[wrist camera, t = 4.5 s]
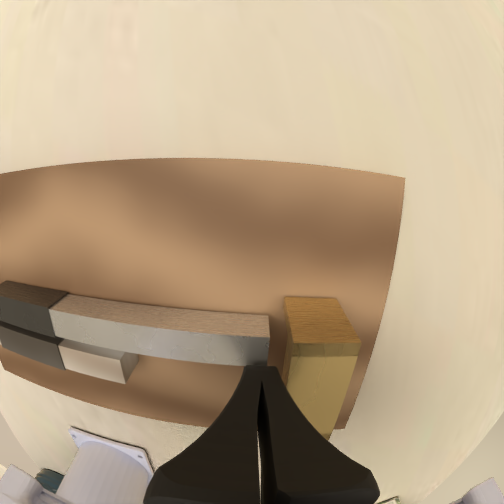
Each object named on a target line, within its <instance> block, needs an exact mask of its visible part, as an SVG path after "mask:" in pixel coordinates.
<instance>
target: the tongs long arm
mask: <svg viewBox="0 0 504 504" xmlns="http://www.w3.org/2000/svg"><path fill="white" fill-rule="evenodd" d="M0 321H3V322H6V323H9V324H12V325H15V326H18V327H21V328H24V329H27V330H30V331H33V332H36V333H40V334H43V335H47V336H50V337H54V338H56V337H57V336H58V337H61V338H65V339H69V340H73V341H77V342H81V343H86V344H90V345H94V346H99V347H104V348H109V349H114V350H119V351H124V352H130V353H135V354H141V355H147V356H154V357H160V358H167V359H175V360H183V361H191V362H200V363H210V364H222V365H235V366H246V365H256V366H267V360H268V351H269V341H270V332H269V318H268V315H257V314H240V313H226V312H212V311H200V310H189V309H178V308H168V307H159V306H150V305H142V304H133V303H126V302H118V301H111V300H104V299H97V298H90V297H84V296H77V295H71V294H69V293H68V292H65V291H59V290H53V289H48V288H42V287H37V286H31V285H26V284H21V283H16V282H11V281H7V280H6V281H4V282H2V283H1V284H0Z"/></svg>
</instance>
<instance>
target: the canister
mask: <svg viewBox="0 0 504 504" xmlns="http://www.w3.org/2000/svg"><path fill="white" fill-rule="evenodd" d="M63 478H64V476H62V475H60V474H58V473H56V472H53V471H51V470H47V469H42V470H41V472H40V473H38V474H37V476H36V477H35V479H36V480H37V481H38V482H39V483H40V484H41V485H42V487H43V488H44V489H46V490H48V491H50V492H52V493H54V494H56V492H57V490H58V488H59V486H60V484H61V482H62V480H63Z"/></svg>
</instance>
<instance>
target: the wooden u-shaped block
mask: <svg viewBox="0 0 504 504" xmlns="http://www.w3.org/2000/svg"><path fill="white" fill-rule="evenodd" d="M283 310H284V316H285V322H286V327H287V333H288V337H287V345H286V352H285V359H284V366H283V372H282V380H283V382H284V384H285V386H286V388H287V390H288V392H289V394H290V395H291V397H292V398H293V400H294V402H295V403H296V405H297V406H298V408H299V409H300V410H301V412H302V413H303V415H304V416H305V417H306V418H307V420H308V421H309V422H310V423H311V424H312V425H313V427H314V428H315V429H316V430H317V431H318V432H319V433H320V434H321V435H322V436H323V437H324V438H325V439H326V440H329V438H330V436H331V433H332V431H333V428H334V426H335V423H336V421H337V418H338V415H339V412H340V410H341V407H342V404H343V401H344V398H345V395H346V392H347V389H348V386H349V383H350V380H351V377H352V374H353V371H354V367H355V364H356V361H357V357H358V354H359V350H360V347H361V343H362V342H361V341H360V339H359V337H358V335H357V334H356V332H355V330H354V328H353V327H352V325H351V323H350V321H349V320H348V318H347V316H346V314H345V313H344V311H343V309H342V308H341V306H340V304H339V302H338V301H337V299H336V298H305V297H284V304H283Z"/></svg>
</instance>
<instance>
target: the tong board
mask: <svg viewBox="0 0 504 504" xmlns="http://www.w3.org/2000/svg"><path fill="white" fill-rule="evenodd" d="M404 186H405V178H403V177H397V176H392V175H386V174H380V173H373V172H367V171H360V170H353V169H345V168H337V167H329V166H320V165H311V164H300V163H289V162H276V161H261V160H243V159H214V158H157V159H129V160H111V161H97V162H85V163H75V164H65V165H57V166H48V167H41V168H34V169H27V170H21V171H14V172H9V173H3V174H0V284H1V283H2V282H4V281H6V280H7V281H11V282H16V283H21V284H26V285H31V286H37V287H42V288H48V289H53V290H59V291H65V292H68V293H69V294H71V295H77V296H84V297H90V298H97V299H104V300H111V301H118V302H126V303H133V304H142V305H150V306H159V307H168V308H178V309H189V310H200V311H212V312H226V313H240V314H257V315H268V318H269V332H270V341H269V351H268V360H267V366H276V367H277V368H278V371H279V374H280V376H281V378H282V372H283V366H284V359H285V352H286V345H287V337H288V333H287V327H286V322H285V316H284V310H283V304H284V297H305V298H336V299H337V301H338V302H339V304H340V306H341V308H342V309H343V311H344V313H345V314H346V316H347V318H348V320H349V321H350V323H351V325H352V327H353V328H354V330H355V332H356V334H357V335H358V337H359V339H360V341H361V342H362V343H361V347H360V350H359V354H358V357H357V361H356V364H355V367H354V371H353V374H352V377H351V380H350V383H349V386H348V389H347V392H346V395H345V398H344V401H343V404H342V407H341V410H340V412H339V415H338V418H337V421H336V423H335V426H334V428H333V429H343V428H345V426H346V424H347V421H348V419H349V416H350V414H351V411H352V409H353V406H354V404H355V401H356V398H357V396H358V393H359V390H360V387H361V384H362V382H363V379H364V376H365V373H366V370H367V367H368V364H369V360H370V357H371V354H372V351H373V347H374V344H375V341H376V337H377V334H378V330H379V326H380V322H381V319H382V315H383V311H384V307H385V303H386V298H387V294H388V289H389V285H390V280H391V275H392V270H393V265H394V260H395V254H396V248H397V242H398V236H399V229H400V222H401V214H402V206H403V196H404ZM0 360H1V363H2V365H3V367H4V369H5V370H7V371H9V372H11V373H13V374H15V375H17V376H19V377H21V378H24V379H26V380H28V381H31V382H33V383H35V384H38V385H40V386H43V387H45V388H48V389H50V390H53V391H55V392H58V393H61V394H64V395H66V396H69V397H72V398H75V399H78V400H81V401H84V402H88V403H91V404H94V405H98V406H101V407H105V408H108V409H112V410H116V411H120V412H124V413H128V414H132V415H137V416H141V417H146V418H151V419H156V420H161V421H167V422H173V423H179V424H186V425H193V426H201V427H210V426H211V424H212V423H213V422H214V421H215V420H216V418H217V417H218V416H219V414H220V413H221V412H222V410H223V409H224V407H225V406H226V404H227V403H228V401H229V400H230V398H231V397H232V395H233V393H234V391H235V389H236V387H237V385H238V383H239V381H240V379H241V376H242V373H243V369H244V367H245V366H235V365H222V364H210V363H200V362H191V361H183V360H175V359H167V358H160V357H154V356H147V355H141V354H135V353H130V352H124V351H119V350H114V349H109V348H104V347H99V346H94V345H90V344H86V343H81V342H77V341H73V340H69V339H65V338H61V337H58V336H57V337H56V338H54V337H50V336H47V335H43V334H40V333H36V332H33V331H30V330H27V329H24V328H21V327H18V326H15V325H12V324H9V323H6V322H3V321H0ZM257 431H258V427H257Z"/></svg>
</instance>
